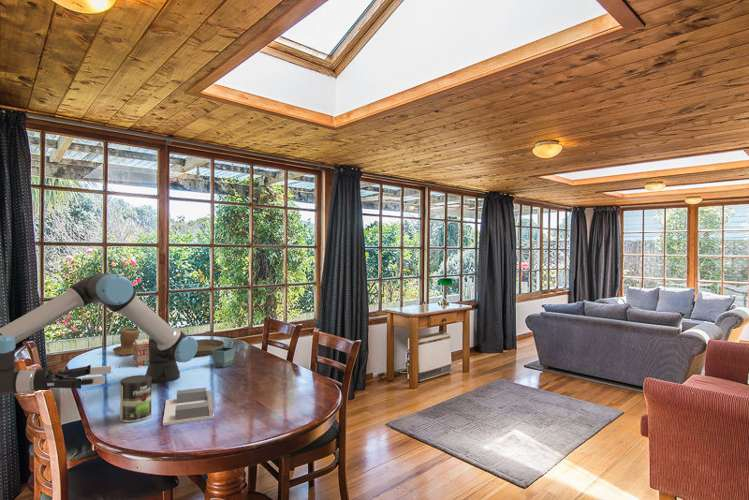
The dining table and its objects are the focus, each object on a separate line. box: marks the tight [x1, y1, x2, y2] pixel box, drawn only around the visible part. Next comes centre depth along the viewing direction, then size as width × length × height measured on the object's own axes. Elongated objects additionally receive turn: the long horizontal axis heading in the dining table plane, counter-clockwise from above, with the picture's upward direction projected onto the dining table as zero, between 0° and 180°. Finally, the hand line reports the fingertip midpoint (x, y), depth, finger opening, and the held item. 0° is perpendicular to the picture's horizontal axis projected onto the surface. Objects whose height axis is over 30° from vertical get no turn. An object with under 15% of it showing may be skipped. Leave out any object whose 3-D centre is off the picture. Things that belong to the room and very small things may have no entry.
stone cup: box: [112, 327, 140, 356], centre depth 253 cm, size 15×12×15 cm
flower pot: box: [211, 346, 236, 368], centre depth 228 cm, size 9×9×9 cm
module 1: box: [176, 387, 207, 403], centre depth 175 cm, size 11×5×4 cm, turn 113°
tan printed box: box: [132, 338, 149, 368], centre depth 236 cm, size 21×6×12 cm, turn 34°
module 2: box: [175, 402, 208, 420], centre depth 159 cm, size 11×5×4 cm, turn 113°
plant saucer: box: [193, 338, 226, 358], centre depth 259 cm, size 31×31×5 cm
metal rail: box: [206, 389, 214, 416], centre depth 170 cm, size 2×24×2 cm, turn 23°
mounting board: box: [162, 396, 215, 427], centre depth 167 cm, size 17×25×1 cm
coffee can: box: [119, 374, 153, 423], centre depth 160 cm, size 10×10×14 cm
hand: (107, 374), depth 156 cm, fingers open, 13 cm apart
